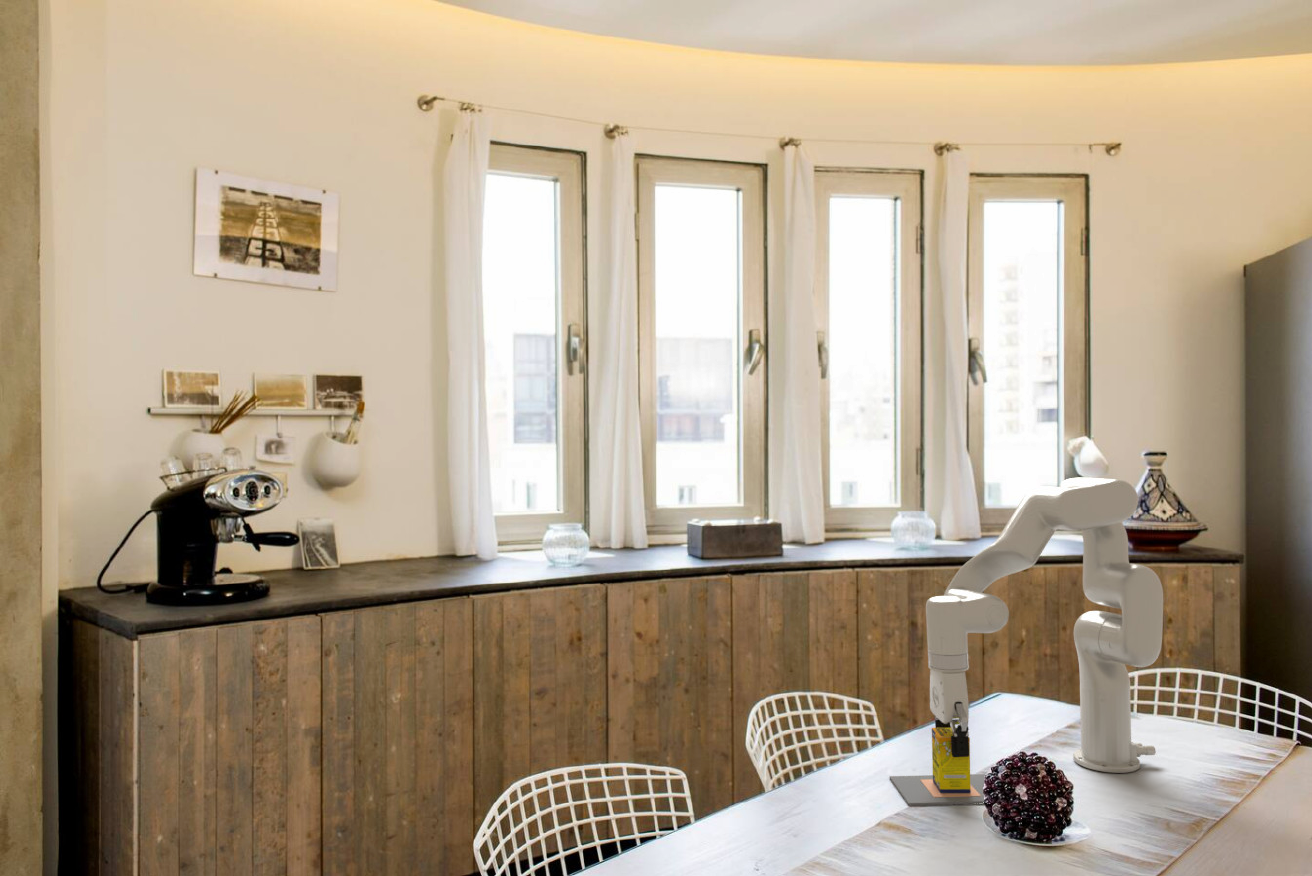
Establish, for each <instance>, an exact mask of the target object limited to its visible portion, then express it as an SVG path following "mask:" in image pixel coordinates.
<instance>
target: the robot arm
mask: <svg viewBox="0 0 1312 876" xmlns="http://www.w3.org/2000/svg"><path fill="white" fill-rule="evenodd" d="M1138 504H1139V496H1138V493H1137V490H1136V489H1135V487H1134V486H1133V485H1132V484H1131V483H1129V481H1126V480H1123V479H1118V478H1099V477H1072V478H1067V479H1065V480H1063V481H1062V482H1061V483H1060V484H1059V485H1058V486H1037V487H1033V488H1032V489H1030V490H1028V491H1027V493H1026V494H1025V495H1024V497H1023V498H1022V499H1021V501H1020V503H1019V504H1018V506H1016V509H1015V510H1014V512H1013V513H1012V515H1011V517H1010V519H1008V521H1007V523H1006V524H1005V526H1004V528H1003V529H1002V530H1001V532H1000V534H999V536H998V537H997V538H996V540H995V541H994V542H993V543H992V544H990V545H989V546H987V547H986V548H984V549H982V550H981V551H980V552H978V553H977V554H976V555H974V556H973V557H972V558H970V559H969V560H968V561H966V562H965V563H964V564H963V565H962V566H961V567H960V568H959V569H958V571H957V572H956V573H955V575H954V577H953V578H952V580H951V582H950V583H949V584H948V585H947V587H946V590H944V593H943V595H938V596H936V595H935V596H932V597H930V598H928V599H927V600H926V604H925V619H926V620H925V621H926V639H927V640H926V641H927V642H926V643H927V644H926V645H927V659H928V669H929V709H930V712H931V713H932V714H933V715H934V718H935V719H934V721H935V722H934V723H935V727H934V728H951V730H952V734H953V736H951V750H952V756H953V757H968V756H969V738H970V732H969V730H970V729H969V718H970V716H969V714H970V713H969V712H970V711H969V710H970V709H969V707H970V706H969V695H968V694H969V693H968V685H967V678H966V672H967V671H968V670H969V668H970V666H969V663H970V662H969V645H968V643H969V642H968V634H970V633H971V634H973V633H974V634H975V633H976V634H991V633H996V632H999V631H1000V630H1002V629H1003V628H1004V627H1005V626H1006V625H1007V623H1008V621H1009V616H1010V612H1009V608H1008V606H1007V604H1006V603H1005V602H1004V601H1003V600H1002V599H1001V598H1000V597H998V596H996V595H993V594H990V593H986V592H984V591H985V590H986V589H987V588H988V587H989V586H991V585H992V583H994V582H996V581H997V580H999V579H1002V578H1004V577H1006V576H1009V575H1012V574H1016V573H1018V572H1022V571H1024V570H1027V569H1029V568H1031V567H1033V566H1034V565H1035V564H1036V563H1037V562H1038V560H1039V558H1040V556H1041V554H1042V553H1043V551H1044V550H1045V548H1046V546H1047V545H1048V543H1050V542H1049V541H1050V540H1051V539H1052V537H1053V535H1054V534H1055V532H1056V531H1057V530H1060V531H1068V532H1069V531H1070V532H1077V531H1078V532H1081V534H1082V535H1081V536H1082V541H1083V543H1082V544H1083V548H1082V549H1083V553H1082V554H1083V555H1082V556H1083V559H1082V590H1083V593H1084V595H1085V597H1086V598H1087V599H1088V600H1089V601H1090V602H1092V603H1094V604H1097V605H1100V606H1105V607H1109V608H1115V609H1120V610H1121V614H1119V613H1114V612H1110V611H1109V612H1108V611H1104V610H1090V611H1086V612H1085V613H1082V614H1081V615H1079V616H1078V618H1077V619H1076V621H1075V623H1074V626H1073V641H1074V645H1075V649H1076V653H1077V654H1076V655H1077V659H1078V667H1079V669H1078V670H1079V700H1080V701H1079V703H1080V705H1079V707H1080V709H1079V711H1080V717H1079V718H1080V749H1077V750H1075V751H1074V752H1073V754H1072V755H1073V756H1072V757H1073V761H1074V762H1075V763H1076V764H1078V765H1080V766H1082V767H1084V768H1087V769H1090V770H1093V771H1098V772H1104V773H1111V774H1113V773H1114V774H1123V773H1126V774H1127V773H1132V772H1135V771H1138V770H1139V769H1140V767H1141V761H1140V759H1139V758H1140V757H1141V756H1155V755H1156V754H1157V753H1156V748H1155V746H1154V745H1143V744H1142V743H1141V742H1139V743H1137V742H1136V743H1135V742H1133V741H1132V722H1131V721H1132V720H1131V719H1132V714H1131V681H1130V676H1129V671H1128V669H1127V666H1131V667H1136V668H1146V667H1149V666H1152V664H1154V663H1155V662H1156V661H1157V659H1158V658H1159V655H1160V653H1161V650H1162V644H1163V627H1164V626H1163V622H1164V620H1163V619H1164V589H1163V585H1162V583H1161V579H1160V577H1159V575H1158V574H1157V573H1156V572H1155V571H1154V570H1153V569H1152V568H1150V567H1148V566H1145V565H1142V564H1139V563H1130V560H1129V539H1128V538H1129V537H1128V533H1127V530H1126V527H1125V525H1124V524H1123V522H1124V521H1126V520H1128V519H1130V518H1131V517H1132V516H1133V515H1134V514H1135V512H1136V510H1137V508H1138V506H1139V505H1138ZM1126 665H1127V666H1126ZM956 728H957V729H956Z"/></svg>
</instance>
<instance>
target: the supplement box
mask: <svg viewBox="0 0 1312 876" xmlns="http://www.w3.org/2000/svg"><path fill="white" fill-rule="evenodd" d="M956 729H957V727H956ZM951 736H953V734H952V730H951V728H935V727H931V747H932V748H931V750H932V751H931V752H932V753H931V754H932V755H931V756H932V759H931V760H932V775H933V782H934V784H935V785H936V786H937V788H938V790H939V792H940V793H971V786H970V774H971V749H970V748H971V743H970V741H971V739H970V738H971V737H969V756H968V757H953V756H952V750H951Z"/></svg>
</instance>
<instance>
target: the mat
mask: <svg viewBox="0 0 1312 876" xmlns="http://www.w3.org/2000/svg"><path fill="white" fill-rule="evenodd" d="M985 774H986V773H983V774H982V773H981V774H980V773H979V774H978V773H976V774H975V773H974V774H971V773H970V786H971V793H940V792H939V790H938V788H937V786H936V785H935V784H934V782H933V774H932V775H893V776H892V775H891V776H890V775H889V780H890V781H891V783H892V784H893V786H894V787H895V788H896V790H897V791H898V793H899V794H900V796H901V797H902V798H903V800H904V801H905V803H906V805H908V807H910V806H912V807H917V806H920V807H921V806H922V807H923V806H948V805H949V806H951V805H952V806H954V805H953V804H966V805H980V804H979V803H983V802H984V795H983V787H984V776H985ZM972 803H973V804H972ZM974 803H976V804H974ZM977 803H978V804H977ZM947 804H948V805H947Z"/></svg>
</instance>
